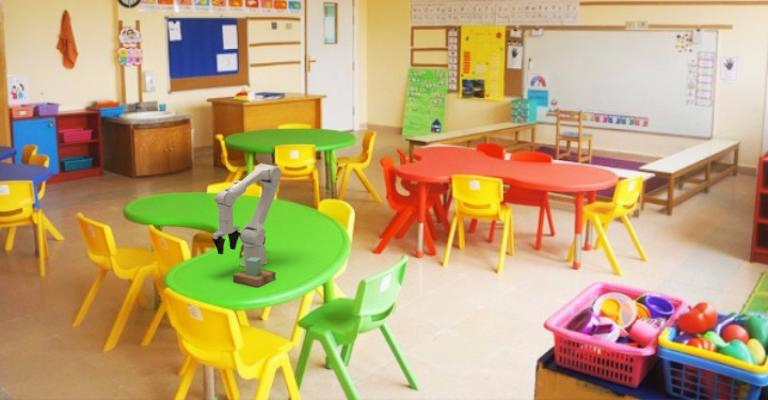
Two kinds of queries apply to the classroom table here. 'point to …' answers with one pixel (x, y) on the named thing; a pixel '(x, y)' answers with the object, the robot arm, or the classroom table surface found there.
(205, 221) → the classroom table surface
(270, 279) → the walnut base
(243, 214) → the classroom table surface
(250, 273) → the teal block
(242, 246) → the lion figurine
